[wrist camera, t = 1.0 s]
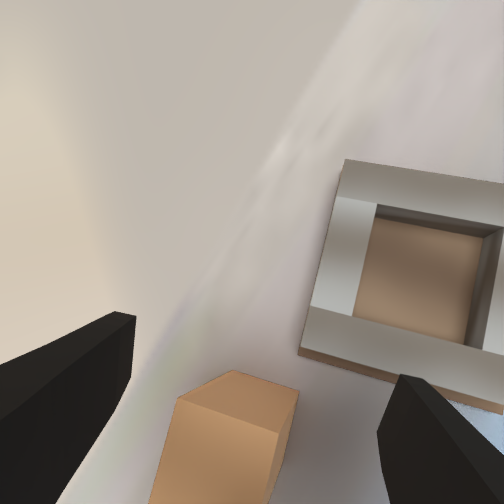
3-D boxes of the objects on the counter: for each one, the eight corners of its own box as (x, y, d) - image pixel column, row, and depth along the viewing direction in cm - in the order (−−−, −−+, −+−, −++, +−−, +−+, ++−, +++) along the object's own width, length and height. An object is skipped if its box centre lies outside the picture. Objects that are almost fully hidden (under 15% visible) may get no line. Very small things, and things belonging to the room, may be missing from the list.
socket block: (494, 410, 19) (529, 430, 15) (299, 353, 21) (292, 359, 18) (530, 202, 20) (570, 178, 17) (342, 171, 22) (344, 145, 19)
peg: (281, 464, 20) (250, 553, 13) (214, 439, 21) (147, 507, 14) (299, 391, 21) (278, 433, 13) (232, 369, 22) (177, 397, 14)
